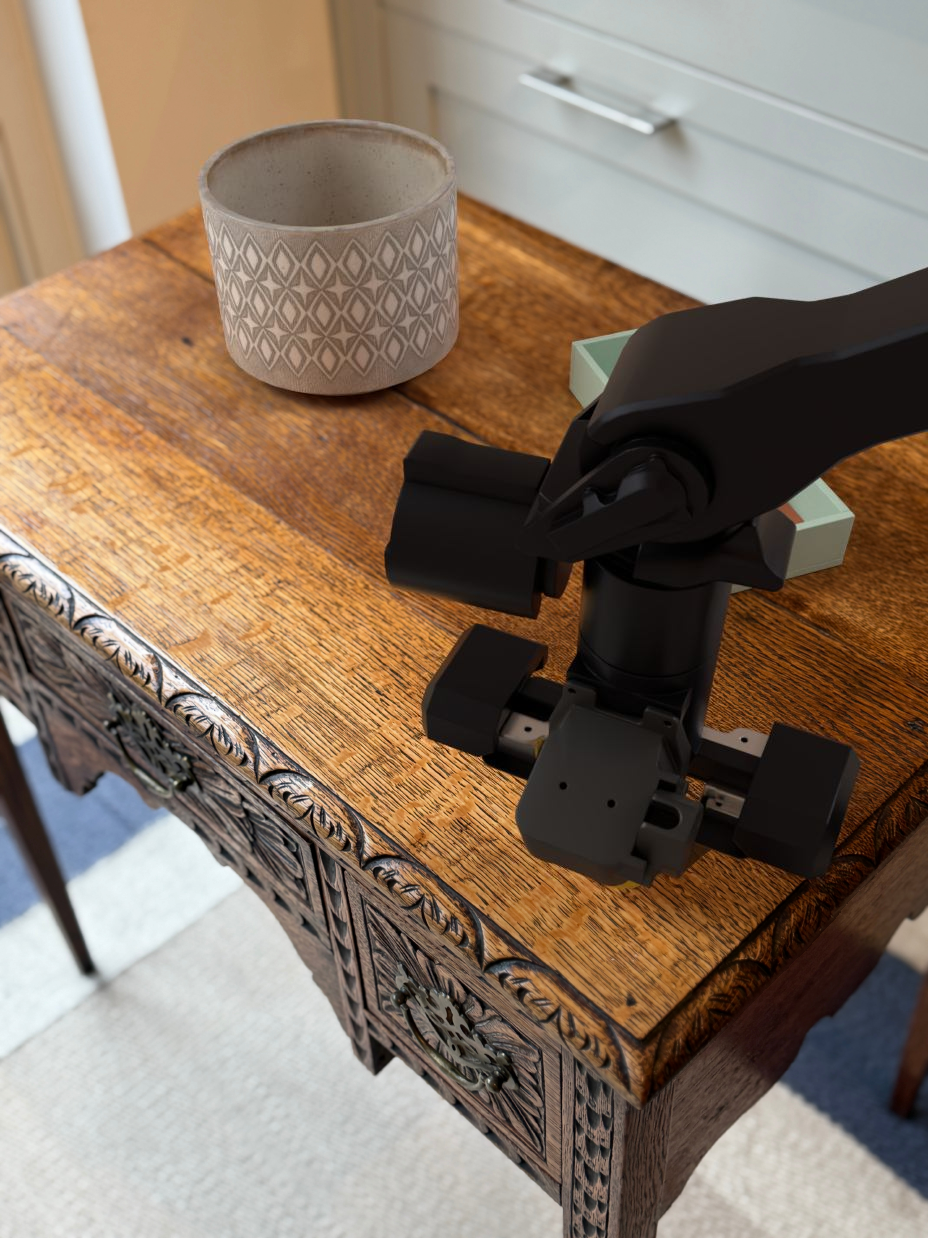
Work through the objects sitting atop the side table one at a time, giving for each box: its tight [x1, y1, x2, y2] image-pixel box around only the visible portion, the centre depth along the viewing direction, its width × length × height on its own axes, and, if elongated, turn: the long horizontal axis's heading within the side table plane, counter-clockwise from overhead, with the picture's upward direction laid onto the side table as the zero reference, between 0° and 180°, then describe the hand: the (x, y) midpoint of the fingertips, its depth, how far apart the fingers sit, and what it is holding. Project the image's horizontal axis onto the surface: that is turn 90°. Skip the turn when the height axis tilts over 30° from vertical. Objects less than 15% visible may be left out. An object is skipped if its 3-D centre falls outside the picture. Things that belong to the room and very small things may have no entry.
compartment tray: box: [568, 328, 856, 595], centre depth 82 cm, size 25×9×4 cm, turn 19°
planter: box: [197, 118, 460, 397], centre depth 90 cm, size 19×19×14 cm
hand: (619, 848), depth 58 cm, fingers closed on fruit, 5 cm apart
